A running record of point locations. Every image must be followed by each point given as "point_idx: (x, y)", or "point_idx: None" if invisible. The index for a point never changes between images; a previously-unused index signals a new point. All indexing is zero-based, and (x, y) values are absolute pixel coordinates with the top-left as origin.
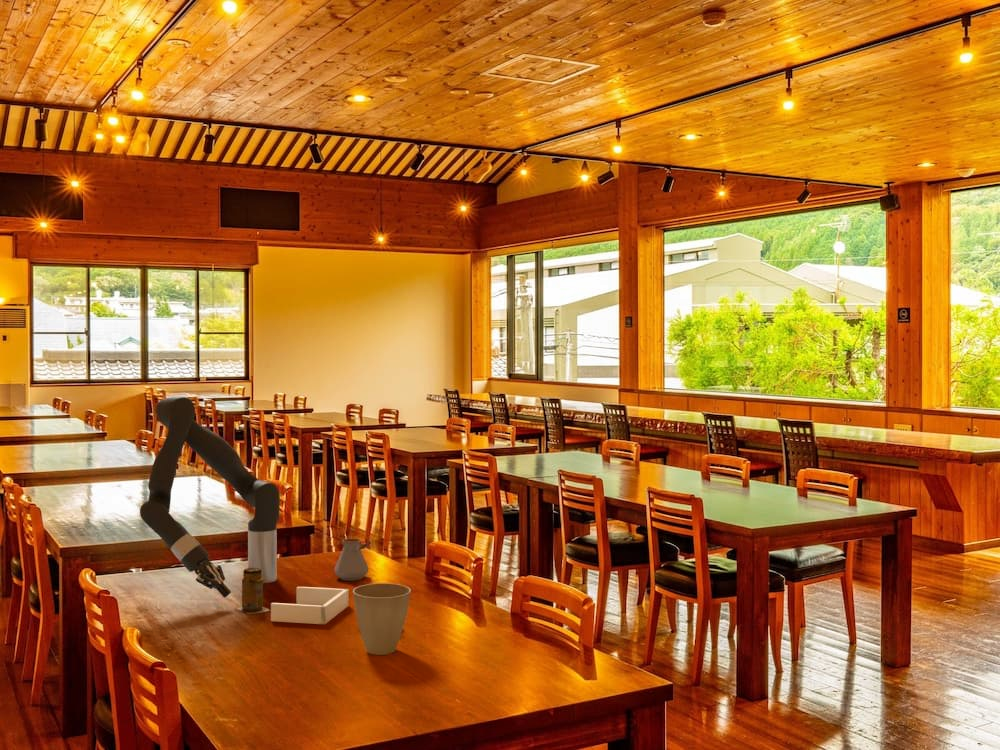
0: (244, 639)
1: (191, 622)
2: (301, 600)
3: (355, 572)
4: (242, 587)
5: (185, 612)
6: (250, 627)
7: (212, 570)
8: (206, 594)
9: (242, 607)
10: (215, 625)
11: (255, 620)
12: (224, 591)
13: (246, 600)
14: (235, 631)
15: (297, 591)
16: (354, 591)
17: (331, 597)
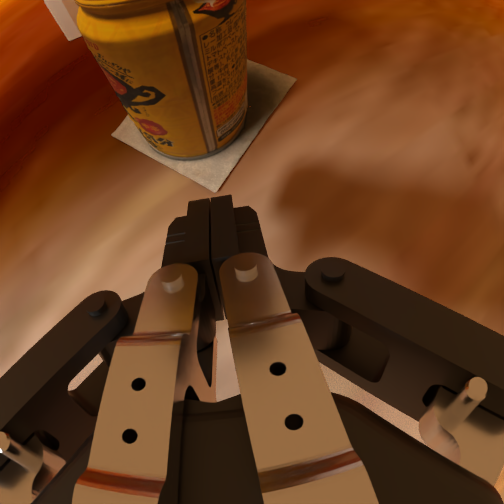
0: (484, 28)
1: (494, 261)
2: None
3: None
4: (225, 52)
5: (381, 416)
6: (417, 30)
7: (178, 471)
8: None
9: (229, 136)
10: (474, 140)
11: (348, 34)
12: (256, 217)
13: (246, 76)
14: (468, 58)
15: (64, 3)
16: None
17: None
